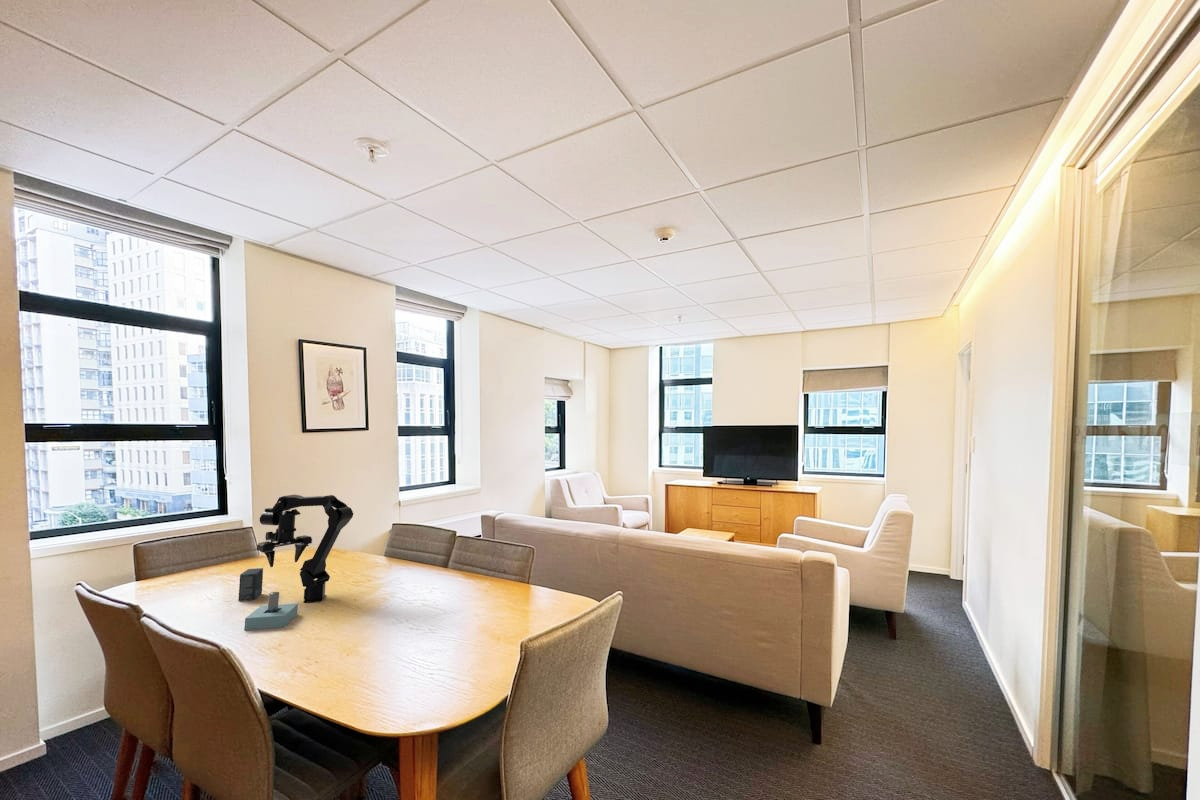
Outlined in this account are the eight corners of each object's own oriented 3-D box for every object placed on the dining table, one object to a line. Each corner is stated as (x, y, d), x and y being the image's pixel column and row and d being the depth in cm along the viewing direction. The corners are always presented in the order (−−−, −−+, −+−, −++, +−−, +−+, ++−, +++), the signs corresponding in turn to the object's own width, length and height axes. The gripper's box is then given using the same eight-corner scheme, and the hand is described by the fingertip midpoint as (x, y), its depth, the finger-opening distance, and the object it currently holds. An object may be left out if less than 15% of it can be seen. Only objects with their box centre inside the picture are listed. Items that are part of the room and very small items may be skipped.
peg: (278, 620, 168) (280, 591, 169) (275, 623, 166) (277, 594, 166) (269, 620, 168) (271, 592, 168) (265, 624, 165) (267, 594, 166)
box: (246, 594, 194) (248, 568, 195) (262, 593, 195) (263, 567, 196) (237, 601, 186) (239, 574, 187) (254, 600, 188) (256, 573, 189)
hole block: (297, 614, 174) (298, 603, 174) (284, 627, 162) (285, 615, 163) (260, 617, 171) (261, 605, 171) (244, 630, 159) (245, 618, 160)
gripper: (299, 520, 206) (297, 556, 205) (251, 527, 190) (248, 566, 189) (313, 523, 201) (311, 560, 199) (264, 530, 184) (262, 571, 183)
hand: (283, 564), depth 193 cm, fingers open, 9 cm apart
